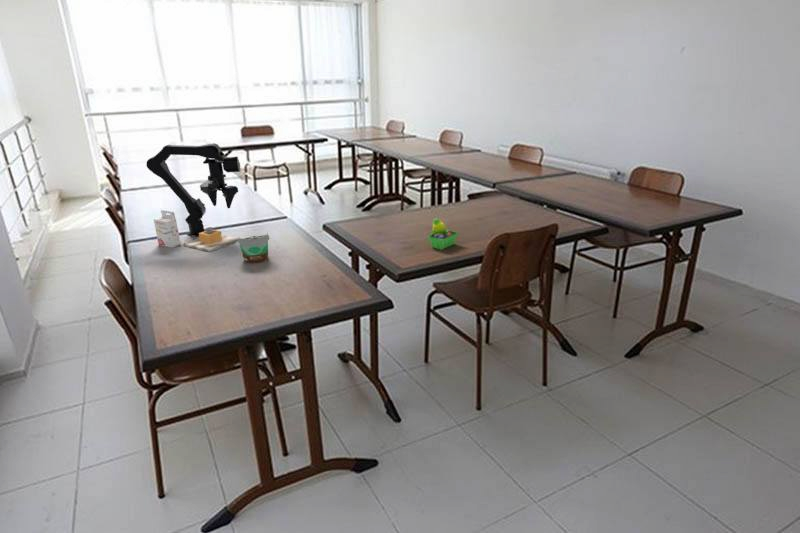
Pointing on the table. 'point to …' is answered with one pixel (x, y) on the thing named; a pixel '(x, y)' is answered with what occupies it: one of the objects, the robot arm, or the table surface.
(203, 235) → the orange square ring
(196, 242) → the post board
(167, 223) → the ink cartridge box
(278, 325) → the table surface
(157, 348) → the table surface
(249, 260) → the food container
